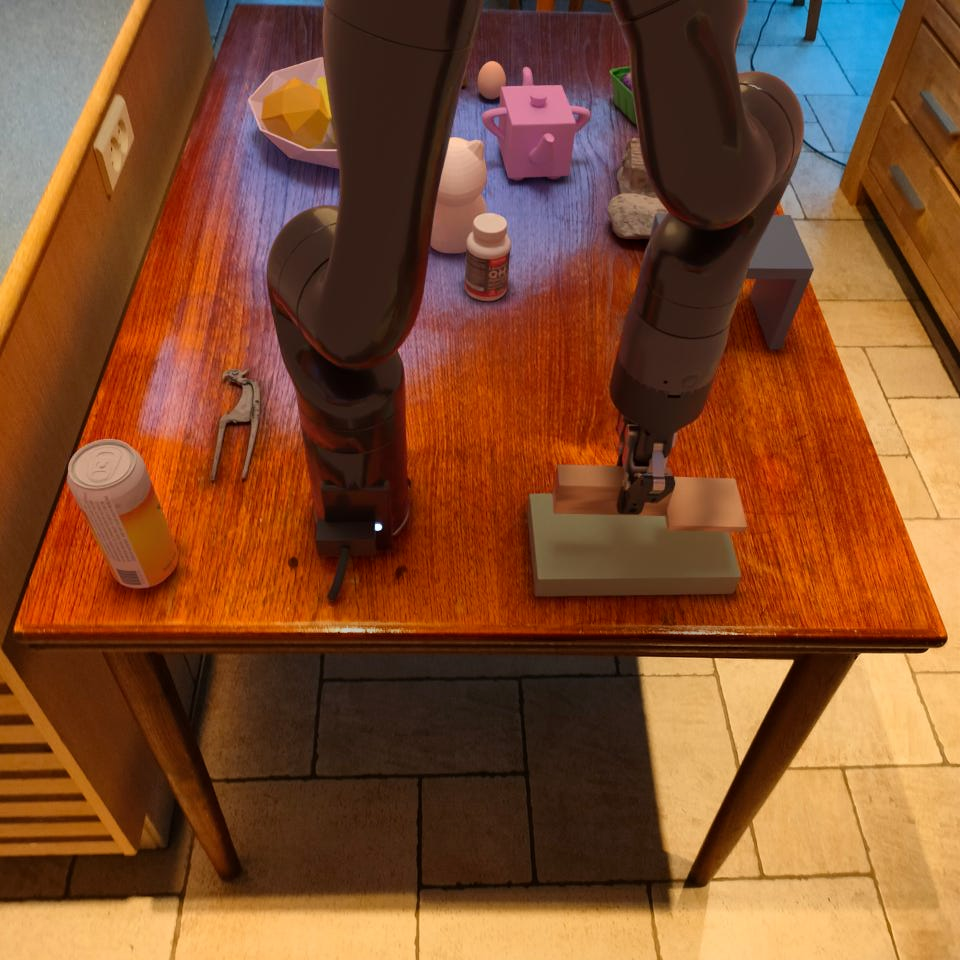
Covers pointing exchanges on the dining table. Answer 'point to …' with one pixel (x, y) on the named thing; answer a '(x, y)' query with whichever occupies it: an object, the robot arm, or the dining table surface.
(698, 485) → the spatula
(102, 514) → the beer can
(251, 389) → the nutcracker
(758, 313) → the upper shelf
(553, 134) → the teapot
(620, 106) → the fruit basket
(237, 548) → the dining table surface
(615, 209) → the decorative stone
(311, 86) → the fruit bowl
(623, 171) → the ceramic cottage
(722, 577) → the low shelf
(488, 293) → the pill bottle
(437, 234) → the cat figurine
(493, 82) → the egg
